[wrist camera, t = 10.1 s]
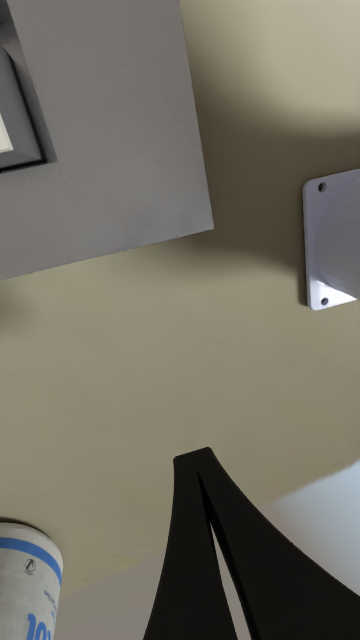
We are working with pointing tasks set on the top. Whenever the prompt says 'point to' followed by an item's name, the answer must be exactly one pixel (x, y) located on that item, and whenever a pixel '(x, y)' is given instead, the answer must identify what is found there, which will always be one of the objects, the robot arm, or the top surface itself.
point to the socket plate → (101, 132)
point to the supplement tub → (28, 583)
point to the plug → (16, 121)
